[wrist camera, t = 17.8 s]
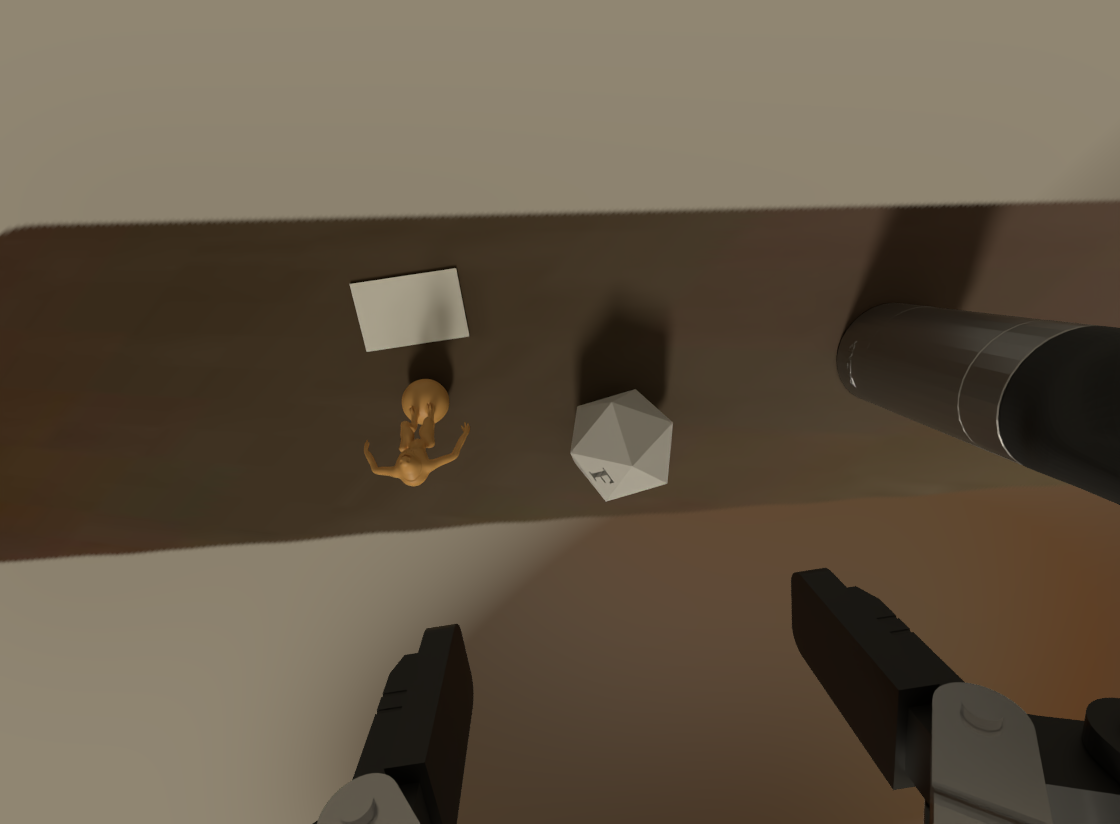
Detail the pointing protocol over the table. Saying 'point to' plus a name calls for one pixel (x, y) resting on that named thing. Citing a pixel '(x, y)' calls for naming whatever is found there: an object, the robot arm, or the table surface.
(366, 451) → the figurine
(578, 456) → the die
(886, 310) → the robot arm
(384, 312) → the grey mat
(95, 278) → the table surface
